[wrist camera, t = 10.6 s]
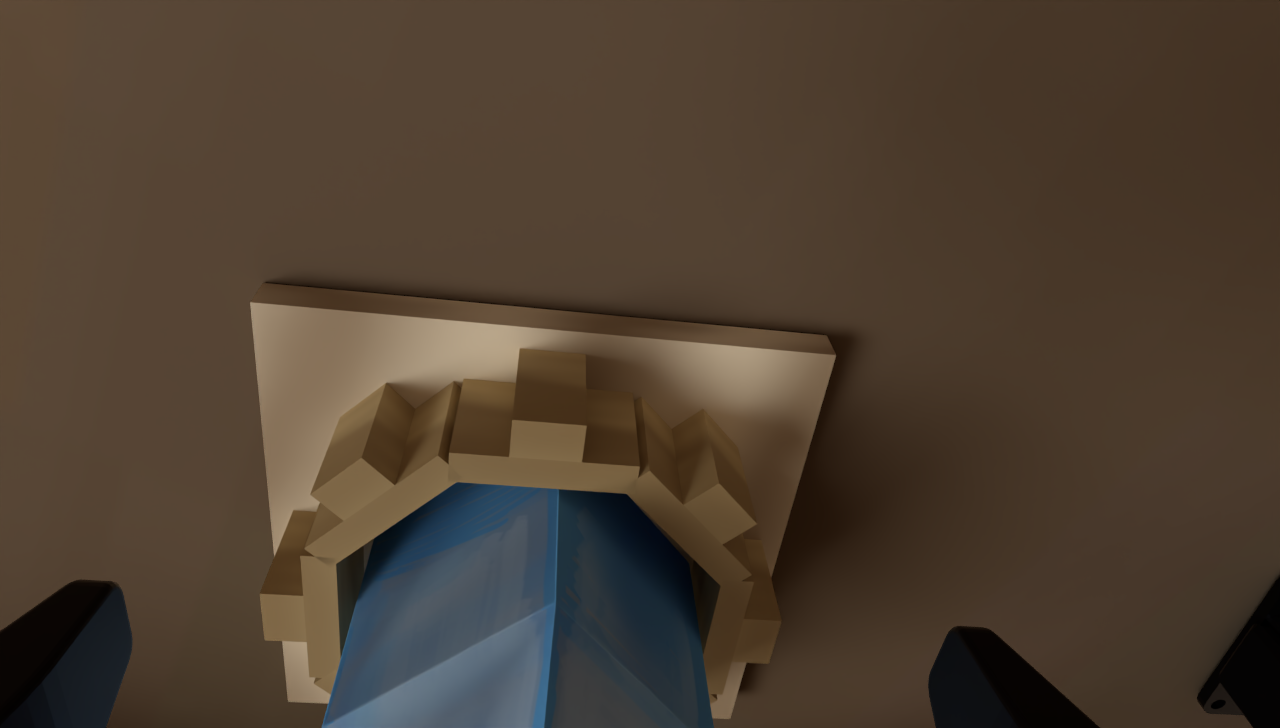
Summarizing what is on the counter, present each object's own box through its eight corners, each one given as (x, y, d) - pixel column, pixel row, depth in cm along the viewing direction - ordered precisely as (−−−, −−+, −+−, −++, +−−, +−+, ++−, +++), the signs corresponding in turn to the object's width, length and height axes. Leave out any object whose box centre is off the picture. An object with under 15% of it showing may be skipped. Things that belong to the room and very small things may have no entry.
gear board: (827, 335, 23) (869, 425, 20) (725, 693, 30) (744, 804, 27) (262, 282, 22) (204, 371, 18) (296, 675, 29) (258, 791, 25)
